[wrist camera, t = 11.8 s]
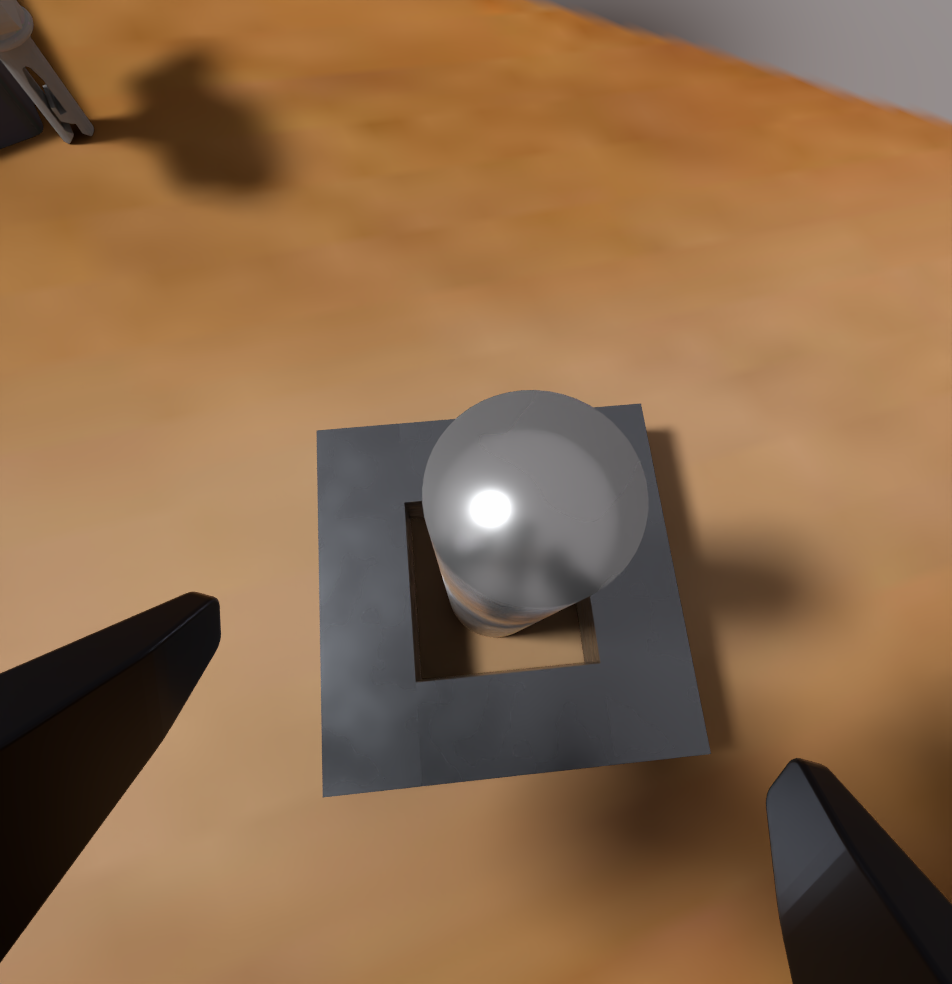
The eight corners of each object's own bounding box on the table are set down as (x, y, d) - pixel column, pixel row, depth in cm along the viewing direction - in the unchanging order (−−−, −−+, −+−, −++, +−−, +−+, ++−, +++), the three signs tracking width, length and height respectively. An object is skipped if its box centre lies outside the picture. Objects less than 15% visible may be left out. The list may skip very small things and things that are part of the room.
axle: (546, 632, 21) (668, 595, 8) (452, 642, 20) (430, 618, 8) (534, 541, 22) (626, 381, 9) (444, 549, 21) (415, 399, 9)
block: (681, 741, 20) (711, 754, 17) (340, 779, 19) (323, 797, 17) (622, 429, 23) (641, 403, 21) (332, 454, 22) (316, 430, 20)
